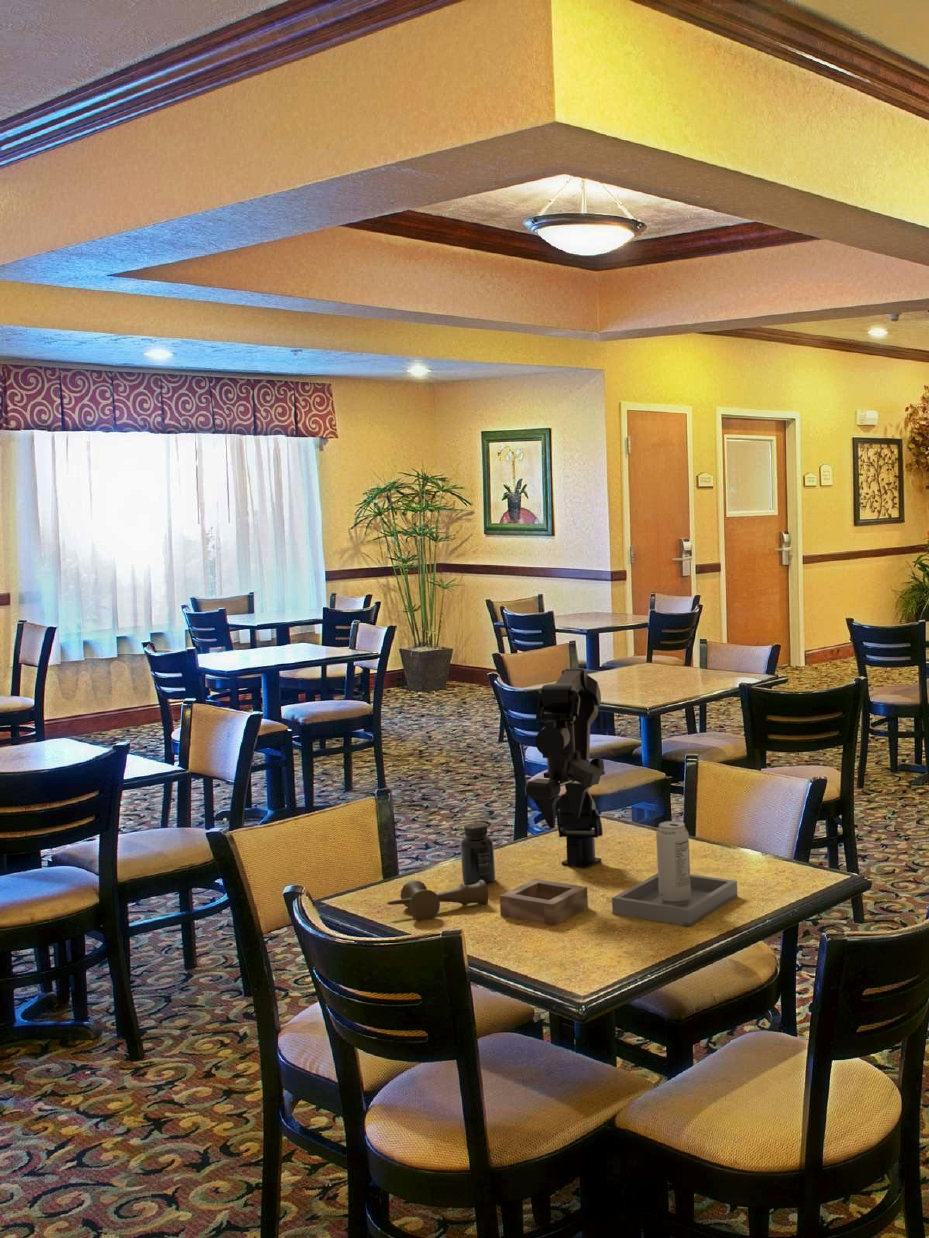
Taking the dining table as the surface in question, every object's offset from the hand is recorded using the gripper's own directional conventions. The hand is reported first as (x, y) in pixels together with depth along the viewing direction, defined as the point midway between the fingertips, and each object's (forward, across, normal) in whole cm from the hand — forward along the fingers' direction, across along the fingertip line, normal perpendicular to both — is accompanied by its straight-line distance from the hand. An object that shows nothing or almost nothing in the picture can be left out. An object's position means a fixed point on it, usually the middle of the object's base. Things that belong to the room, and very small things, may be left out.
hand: (564, 822), depth 252 cm
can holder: (+13, -16, -5) cm, 21 cm away
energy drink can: (+13, -1, -25) cm, 28 cm away
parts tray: (+13, -1, -25) cm, 28 cm away
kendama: (+14, -25, +14) cm, 31 cm away
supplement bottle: (+13, -6, +18) cm, 23 cm away
